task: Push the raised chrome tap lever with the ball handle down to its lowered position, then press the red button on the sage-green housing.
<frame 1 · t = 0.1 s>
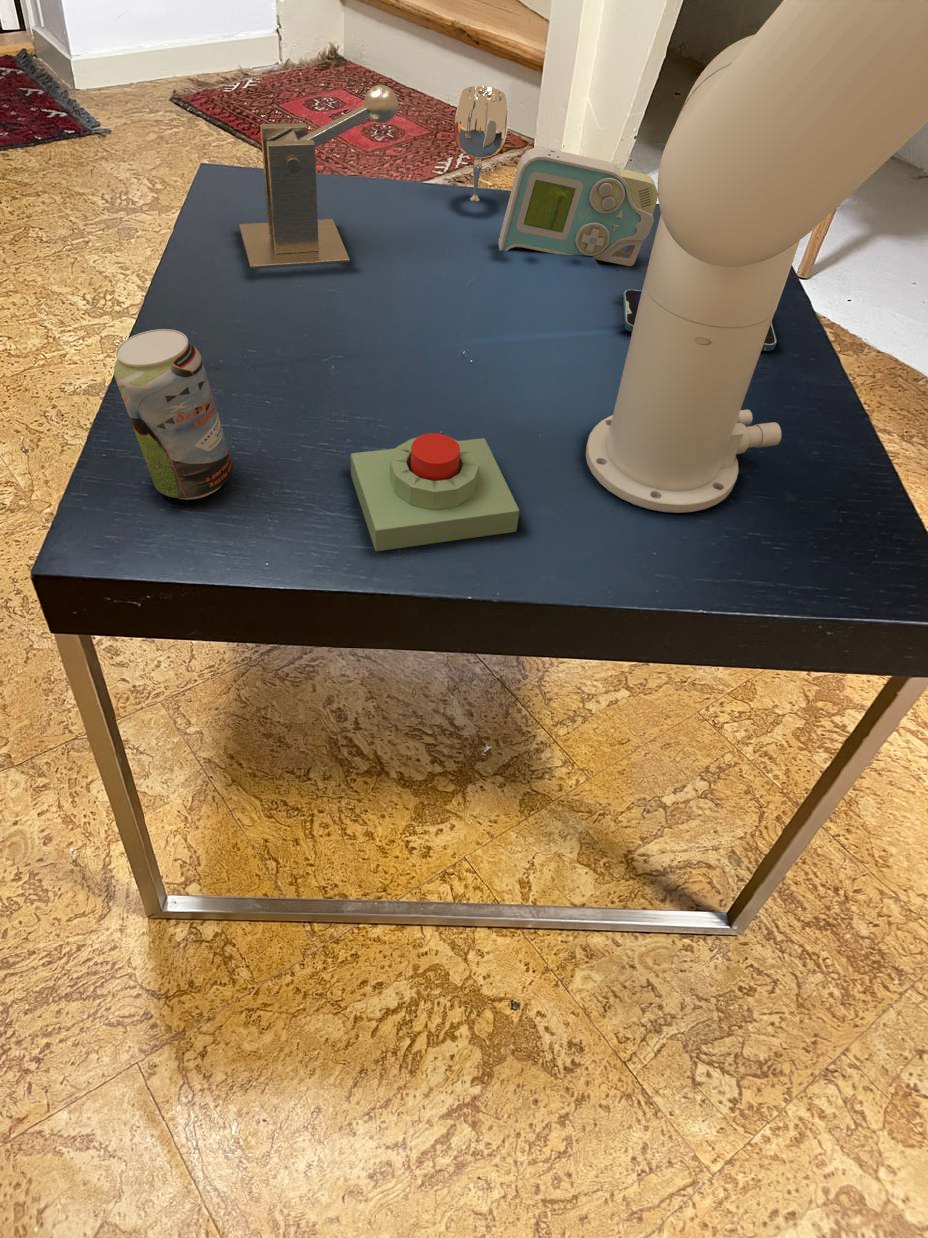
button: (435, 457, 71), point 4 cm above the table, slide at 0.1 cm
lever stand: (294, 252, 99), on the table
wineglass: (473, 208, 109), on the table
smartphone: (696, 325, 95), on the table
tap lever: (335, 127, 91), point 12 cm above the table, hinge at 25.0°
handheld gaming console: (569, 259, 103), on the table
button box: (431, 503, 74), on the table
beverage can: (187, 484, 74), on the table
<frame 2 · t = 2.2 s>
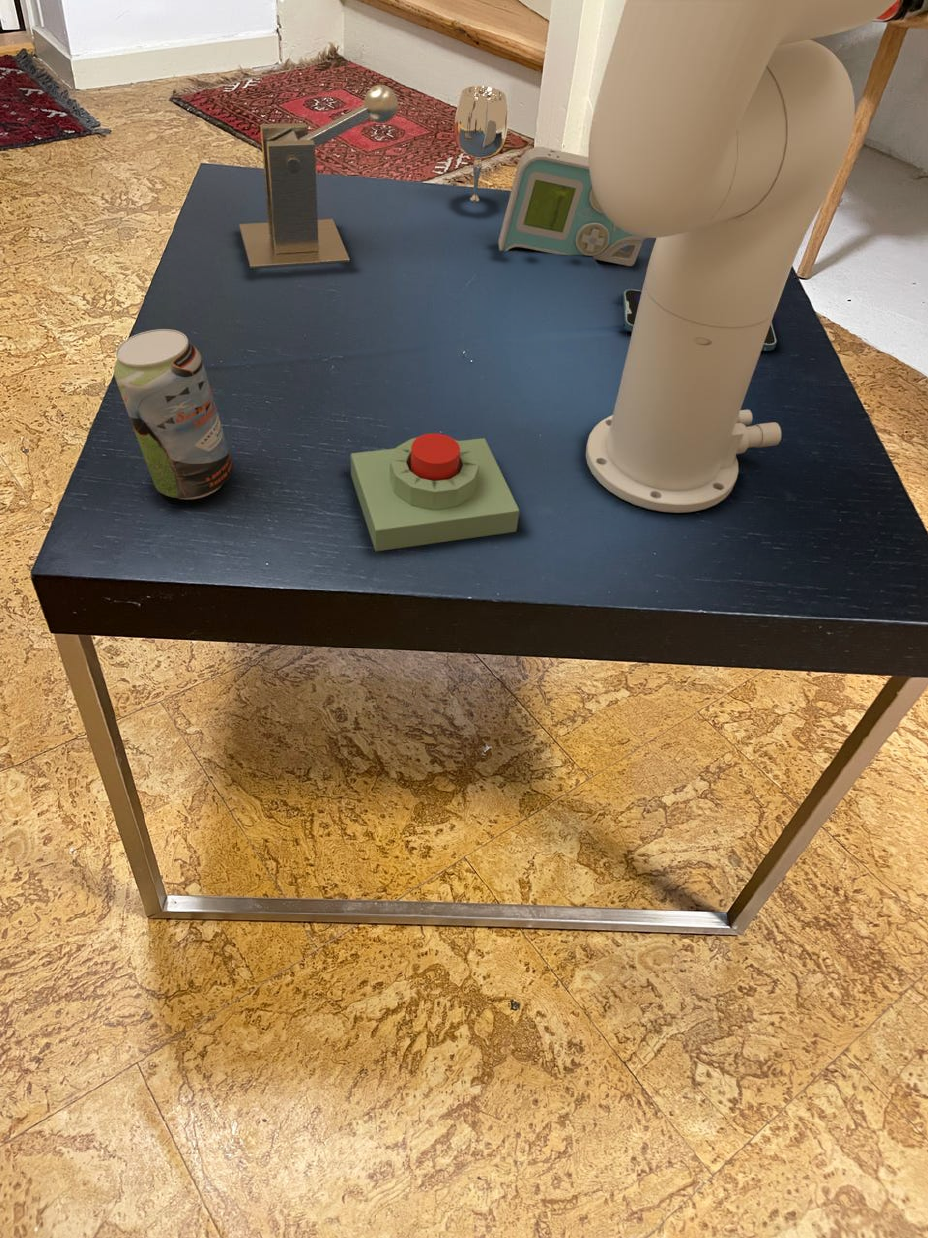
nothing on the table moved.
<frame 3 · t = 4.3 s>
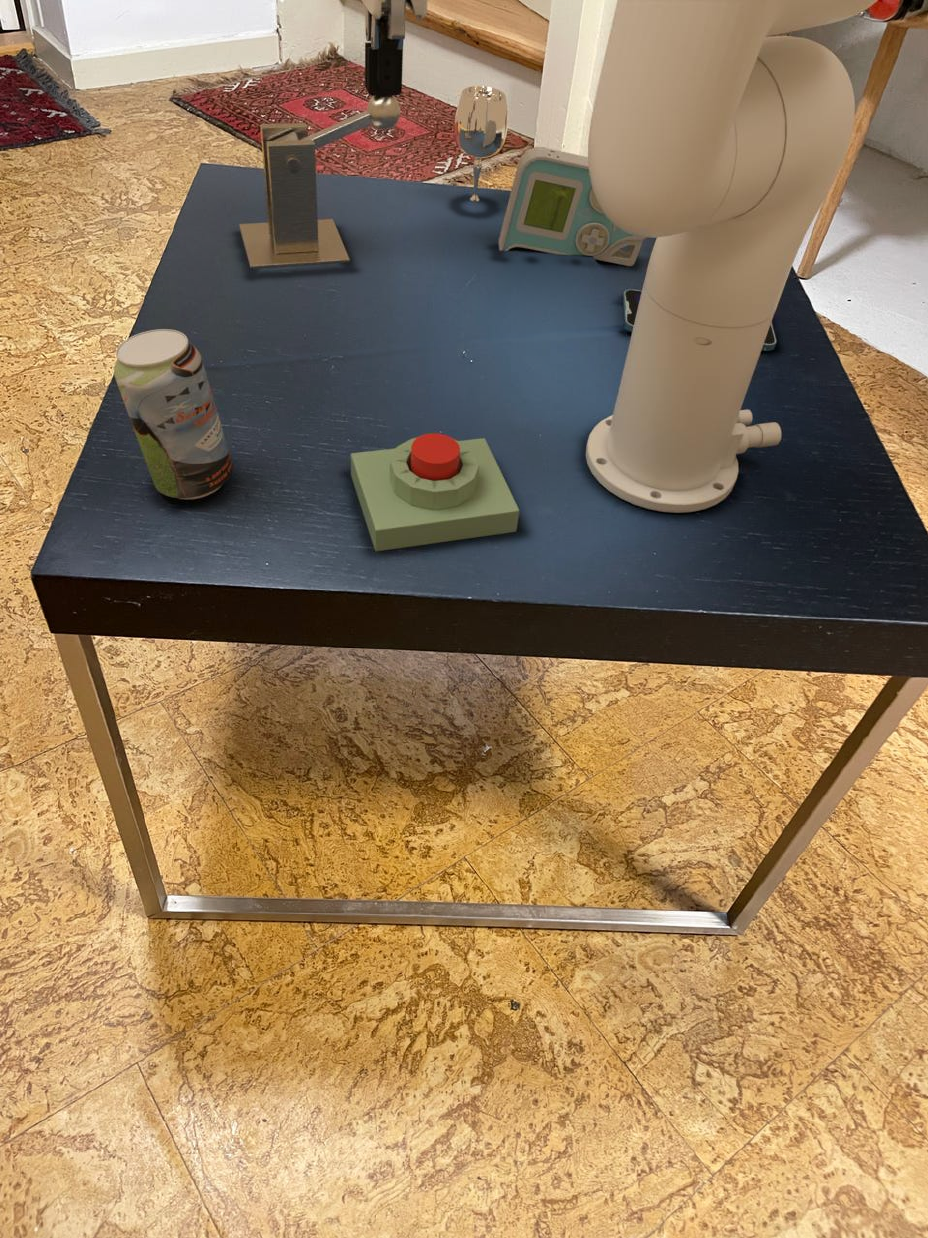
hand: (383, 91, 90), 15 cm above the table, tool pointing down, fingers closed
tap lever: (336, 131, 91), point 12 cm above the table, hinge at 21.0°
everything else where it was.
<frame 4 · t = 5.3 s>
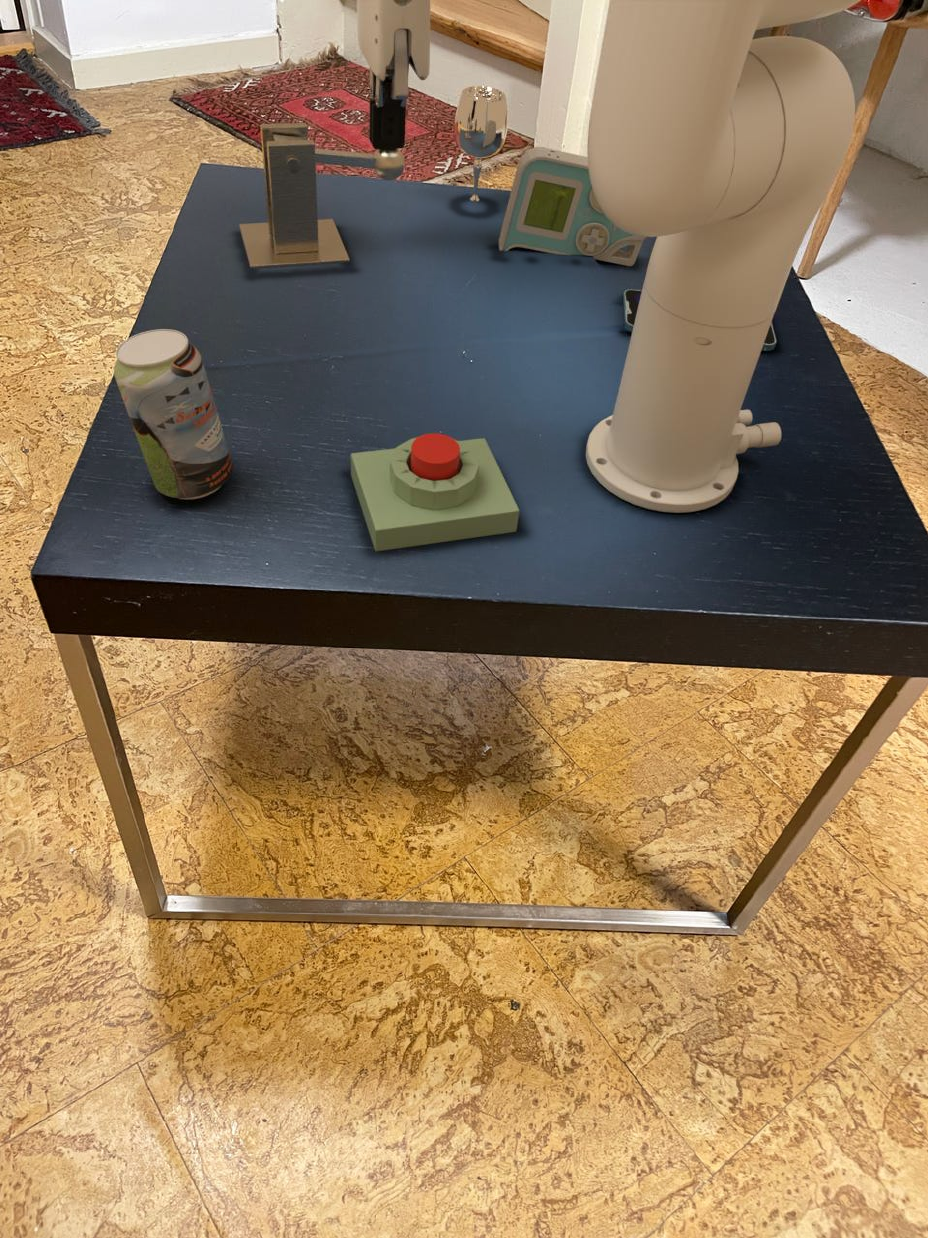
hand: (386, 144, 94), 10 cm above the table, tool pointing down, fingers closed
tap lever: (340, 158, 93), point 9 cm above the table, hinge at -7.5°, touching gripper
everything else where it was.
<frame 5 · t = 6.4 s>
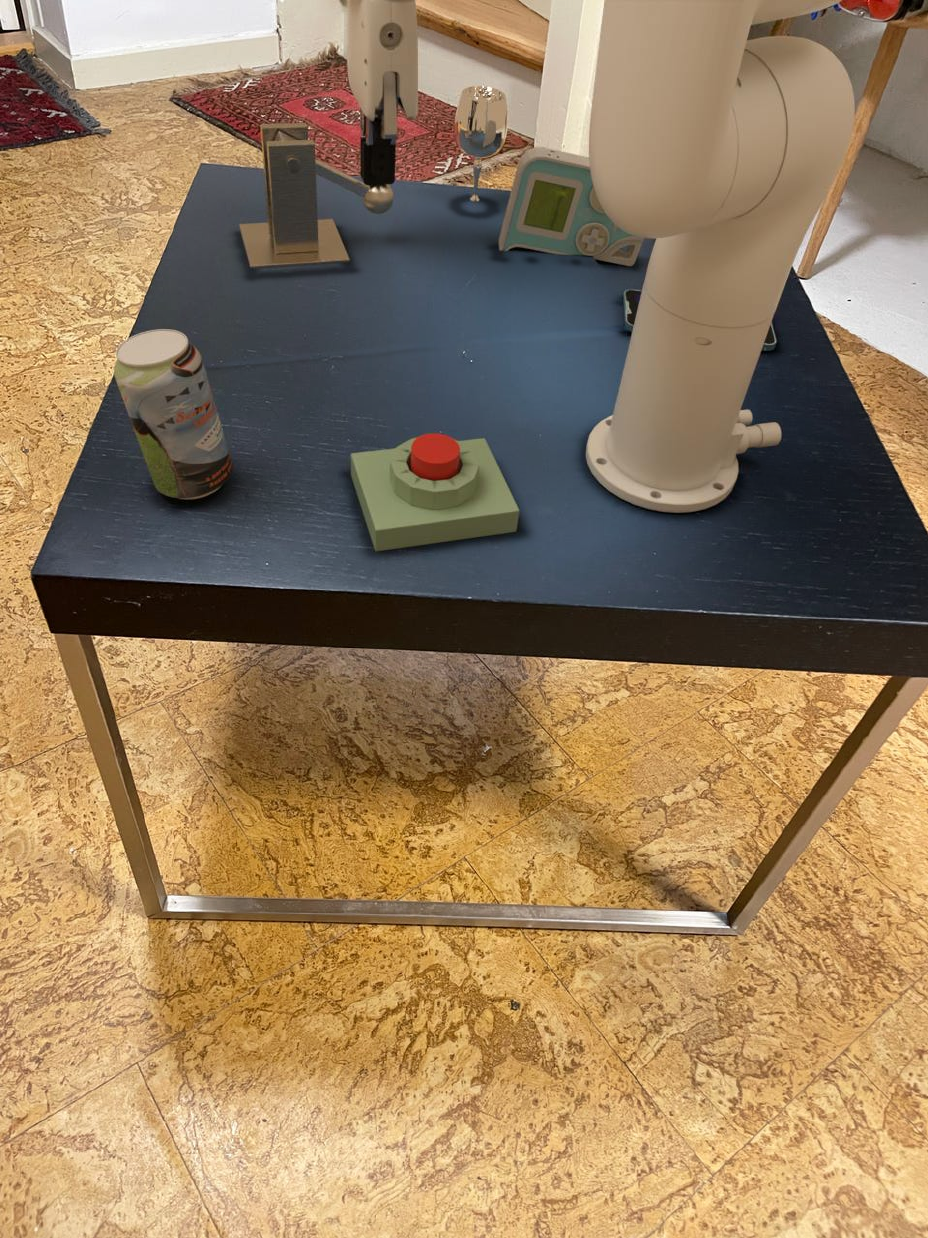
hand: (377, 180, 96), 7 cm above the table, tool pointing down, fingers closed
tap lever: (335, 176, 94), point 8 cm above the table, hinge at -27.8°, touching gripper
everything else where it was.
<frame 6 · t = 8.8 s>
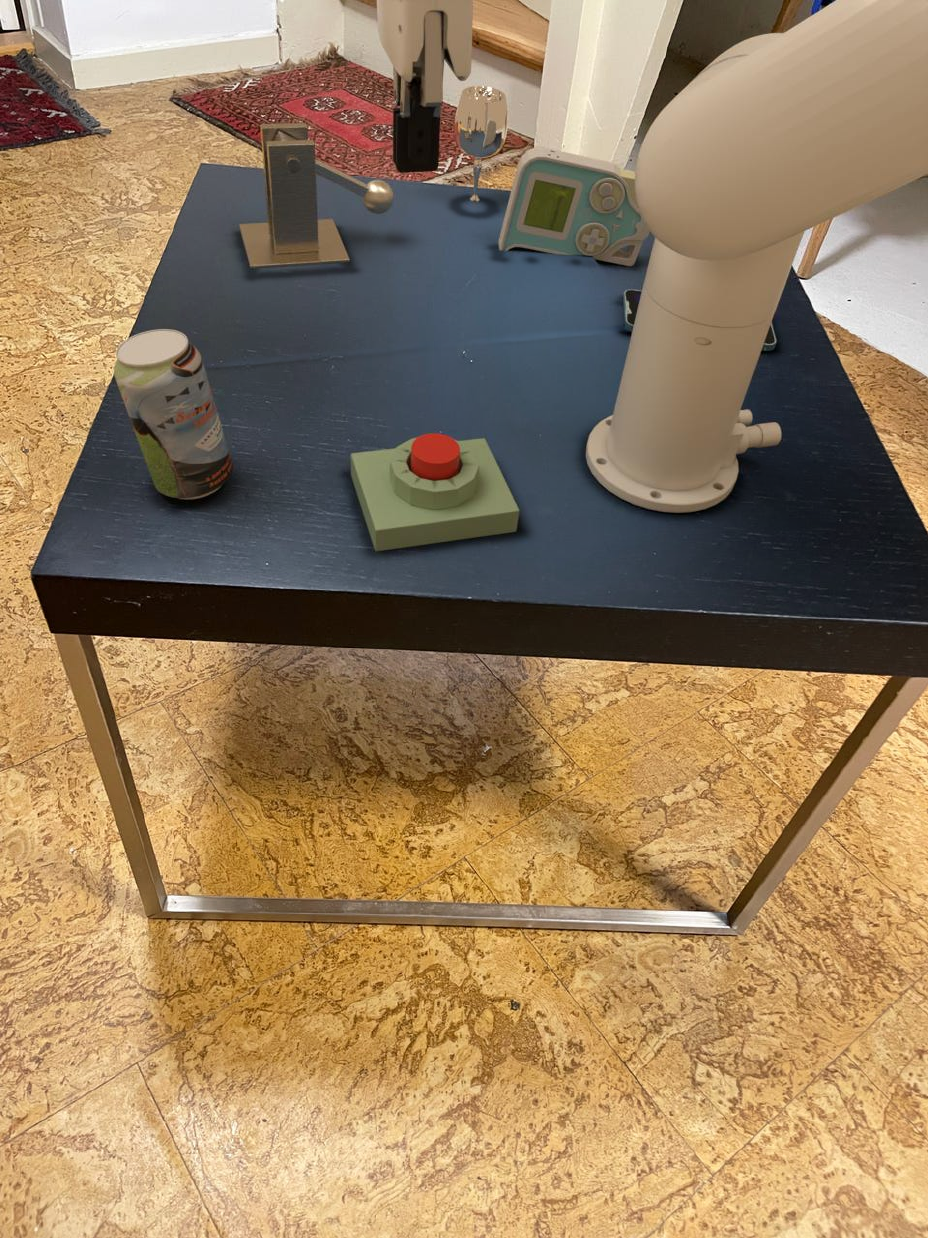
hand: (415, 166, 72), 18 cm above the table, tool pointing down, fingers closed
tap lever: (335, 176, 94), point 8 cm above the table, hinge at -27.8°
everything else where it was.
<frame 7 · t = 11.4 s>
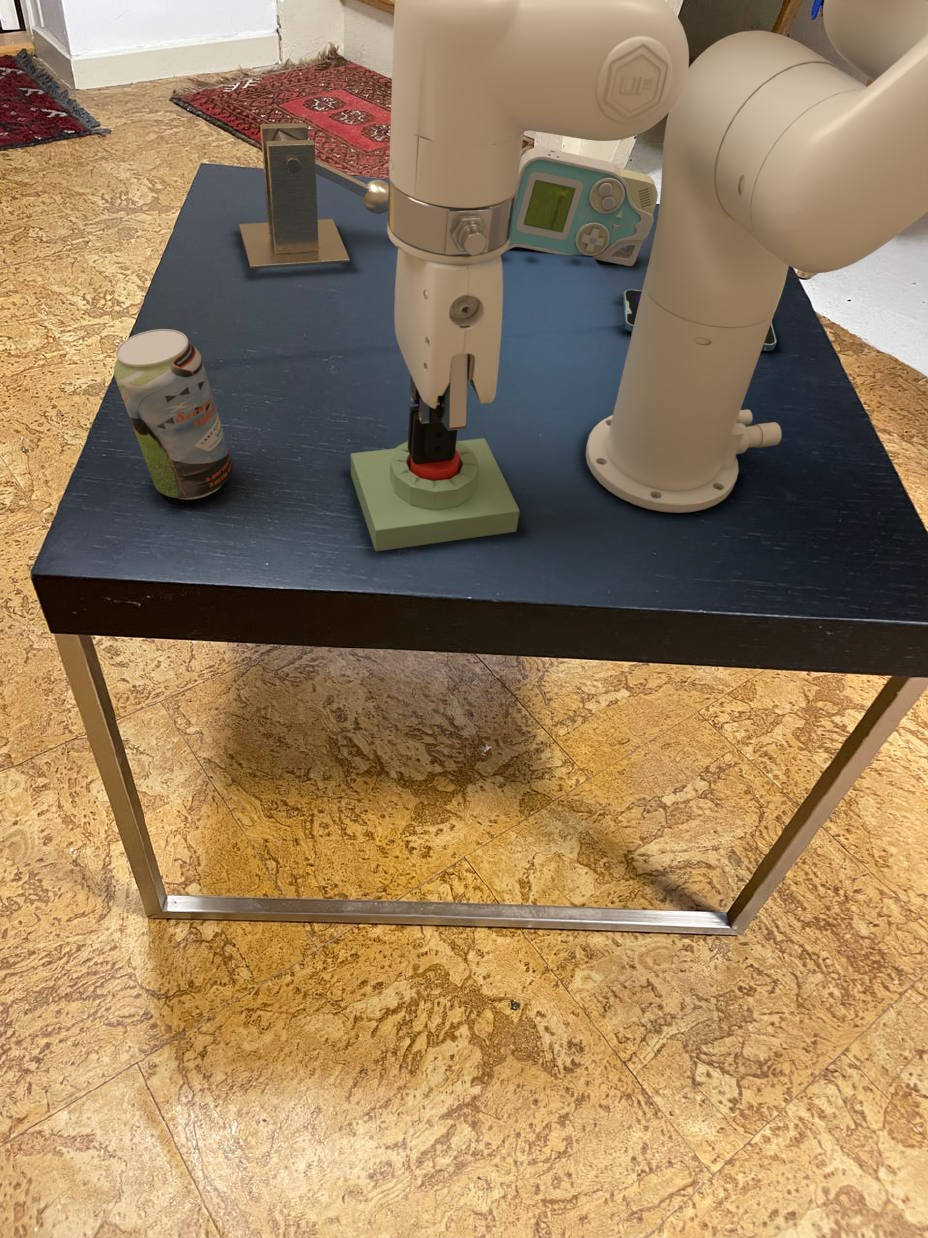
hand: (430, 455, 70), 5 cm above the table, tool pointing down, fingers closed
button: (434, 464, 71), point 4 cm above the table, slide at -0.6 cm, touching gripper
everything else where it was.
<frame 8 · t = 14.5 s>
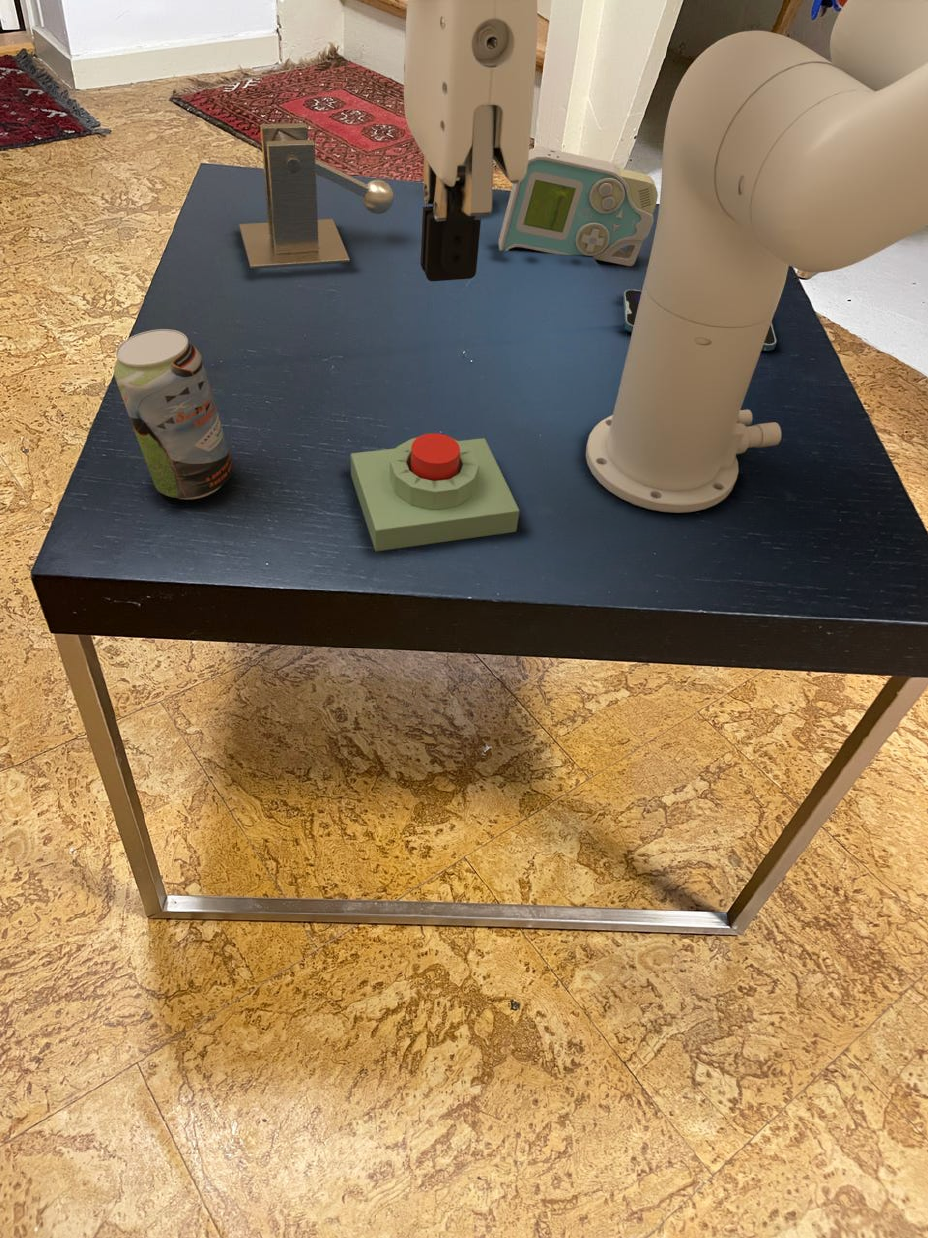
hand: (447, 272, 60), 19 cm above the table, tool pointing down, fingers closed
button: (435, 457, 71), point 4 cm above the table, slide at 0.1 cm
everything else where it was.
at the end: tap lever at -28° (first picture: +25°); button pushed in 1.0 cm at the most during the clip, back to where it started at the end; button slide at 0.1 cm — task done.
